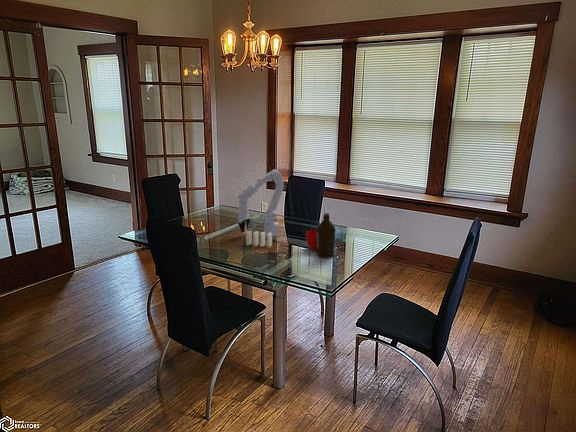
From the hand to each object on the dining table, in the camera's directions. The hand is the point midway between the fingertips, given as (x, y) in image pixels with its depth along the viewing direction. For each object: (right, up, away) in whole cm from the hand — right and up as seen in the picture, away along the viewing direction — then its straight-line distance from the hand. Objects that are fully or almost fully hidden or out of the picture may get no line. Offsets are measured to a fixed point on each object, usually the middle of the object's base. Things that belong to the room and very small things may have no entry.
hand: (244, 230), depth 269 cm
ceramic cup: (+46, -10, -20) cm, 51 cm away
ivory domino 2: (+9, -8, -14) cm, 19 cm away
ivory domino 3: (+13, -9, -16) cm, 22 cm away
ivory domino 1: (+4, -8, -13) cm, 16 cm away
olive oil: (+50, -13, -33) cm, 62 cm away
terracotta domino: (0, -2, 0) cm, 2 cm away
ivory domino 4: (+17, -9, -17) cm, 26 cm away
